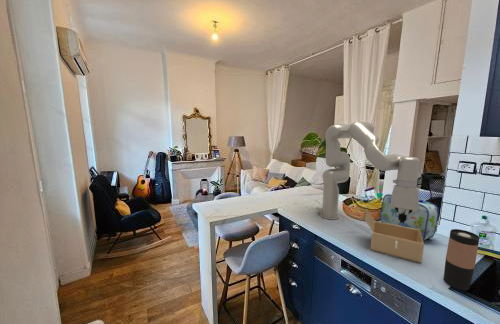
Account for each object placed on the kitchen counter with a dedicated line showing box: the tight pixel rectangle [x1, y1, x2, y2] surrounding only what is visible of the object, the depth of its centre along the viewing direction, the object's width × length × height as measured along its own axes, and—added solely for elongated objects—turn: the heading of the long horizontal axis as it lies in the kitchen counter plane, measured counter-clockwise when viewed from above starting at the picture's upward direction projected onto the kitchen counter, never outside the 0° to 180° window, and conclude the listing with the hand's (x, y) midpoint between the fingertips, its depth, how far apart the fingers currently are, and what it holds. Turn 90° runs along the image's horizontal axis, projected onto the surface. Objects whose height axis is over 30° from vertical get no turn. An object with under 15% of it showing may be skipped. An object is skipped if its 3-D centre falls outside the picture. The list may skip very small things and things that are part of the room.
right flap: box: [414, 215, 424, 243], centre depth 98 cm, size 7×13×1 cm
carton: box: [369, 220, 425, 264], centre depth 102 cm, size 19×18×9 cm
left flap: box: [363, 208, 375, 232], centre depth 108 cm, size 7×13×1 cm
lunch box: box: [379, 193, 440, 241], centre depth 119 cm, size 26×11×21 cm, turn 21°
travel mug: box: [443, 228, 480, 291], centre depth 79 cm, size 8×8×20 cm
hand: (401, 221), depth 101 cm, fingers closed
